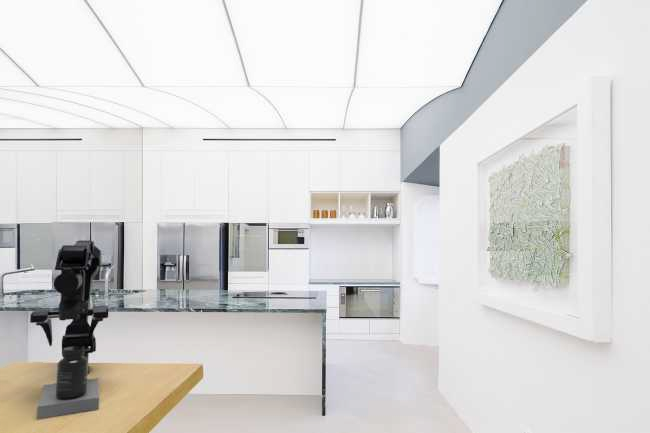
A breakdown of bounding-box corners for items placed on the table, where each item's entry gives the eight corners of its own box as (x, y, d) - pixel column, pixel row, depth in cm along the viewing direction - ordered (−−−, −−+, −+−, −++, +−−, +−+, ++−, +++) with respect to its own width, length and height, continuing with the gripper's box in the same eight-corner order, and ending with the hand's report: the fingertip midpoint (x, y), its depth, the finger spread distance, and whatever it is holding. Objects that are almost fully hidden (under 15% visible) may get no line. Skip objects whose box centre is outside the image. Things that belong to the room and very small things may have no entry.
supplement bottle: (92, 393, 108) (94, 347, 108) (64, 402, 102) (67, 353, 102) (77, 388, 111) (79, 343, 112) (50, 396, 105) (52, 348, 106)
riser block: (43, 396, 112) (44, 385, 113) (97, 388, 119) (98, 377, 119) (36, 419, 99) (37, 406, 99) (98, 409, 105) (99, 397, 105)
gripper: (28, 294, 107) (24, 355, 106) (109, 291, 115) (106, 348, 114) (35, 288, 116) (32, 344, 116) (109, 286, 125) (107, 338, 124)
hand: (70, 344), depth 117 cm, fingers open, 9 cm apart
